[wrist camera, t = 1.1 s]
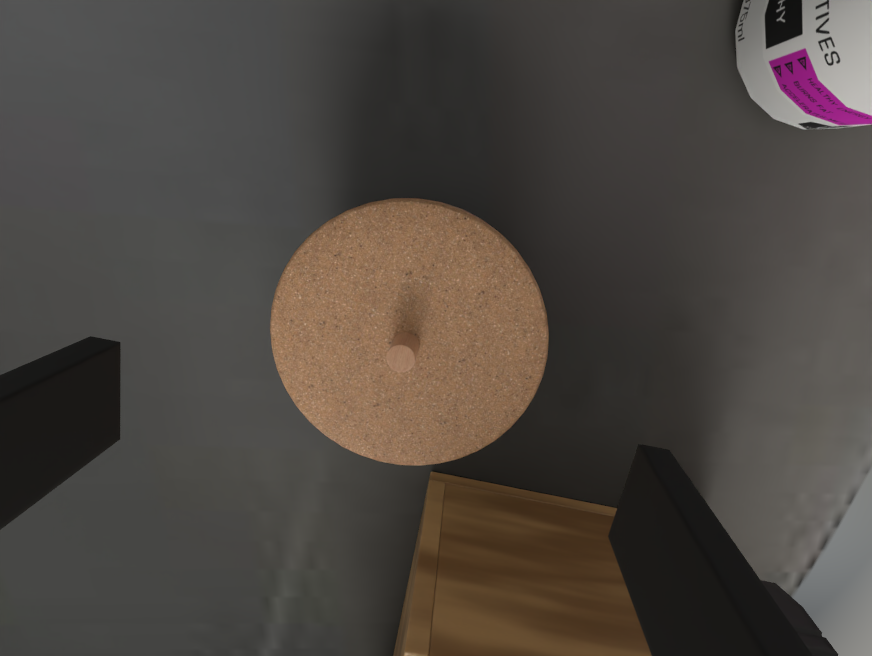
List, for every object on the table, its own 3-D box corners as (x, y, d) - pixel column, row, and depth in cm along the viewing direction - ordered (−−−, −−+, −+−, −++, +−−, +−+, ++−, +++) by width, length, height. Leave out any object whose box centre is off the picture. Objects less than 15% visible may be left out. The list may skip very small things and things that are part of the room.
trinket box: (555, 218, 26) (598, 246, 17) (498, 411, 29) (508, 520, 20) (342, 166, 26) (272, 166, 17) (309, 365, 29) (234, 453, 20)
